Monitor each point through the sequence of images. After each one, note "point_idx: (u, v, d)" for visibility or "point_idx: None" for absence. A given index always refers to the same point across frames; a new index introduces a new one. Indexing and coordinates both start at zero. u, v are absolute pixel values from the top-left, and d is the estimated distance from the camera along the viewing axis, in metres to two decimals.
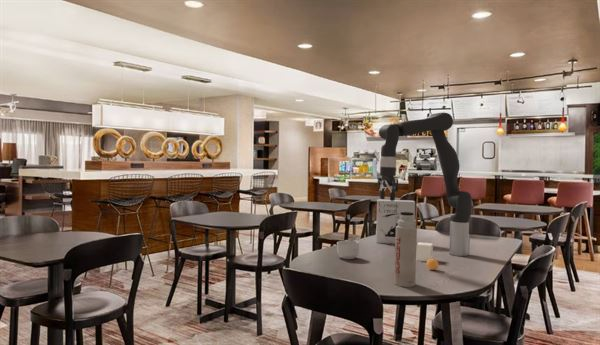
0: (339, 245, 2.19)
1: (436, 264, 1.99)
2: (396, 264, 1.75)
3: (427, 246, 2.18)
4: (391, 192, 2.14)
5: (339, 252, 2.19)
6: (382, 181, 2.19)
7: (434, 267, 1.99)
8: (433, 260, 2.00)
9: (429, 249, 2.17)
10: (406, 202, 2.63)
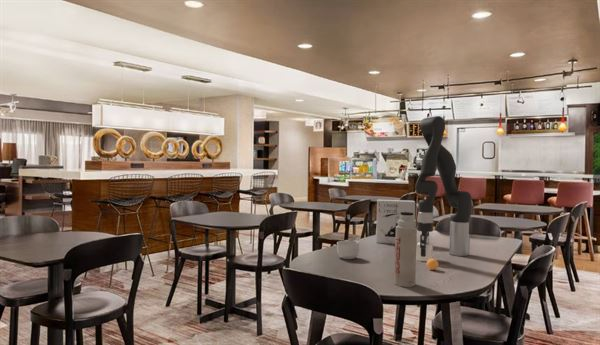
0: (339, 245, 2.19)
1: (436, 264, 1.99)
2: (396, 264, 1.75)
3: (427, 246, 2.18)
4: None
5: (339, 252, 2.19)
6: (428, 237, 2.19)
7: (434, 267, 1.99)
8: (433, 260, 2.00)
9: (429, 249, 2.18)
10: (406, 202, 2.63)
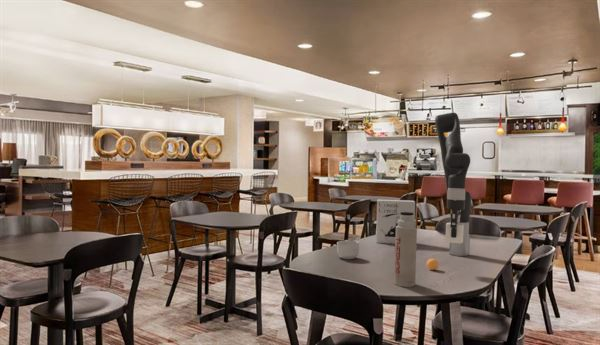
0: (339, 245, 2.19)
1: (436, 264, 1.99)
2: (396, 264, 1.75)
3: (458, 226, 1.95)
4: None
5: (339, 252, 2.19)
6: (459, 216, 1.97)
7: (434, 267, 1.99)
8: (433, 260, 2.00)
9: (460, 229, 1.95)
10: (406, 202, 2.63)
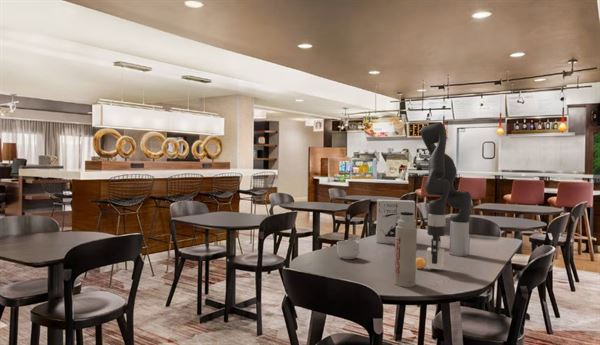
0: (339, 245, 2.19)
1: (416, 260, 2.02)
2: (396, 264, 1.75)
3: (438, 252, 1.97)
4: None
5: (339, 252, 2.19)
6: (440, 242, 1.98)
7: (420, 261, 2.01)
8: None
9: (441, 255, 1.96)
10: (406, 202, 2.63)
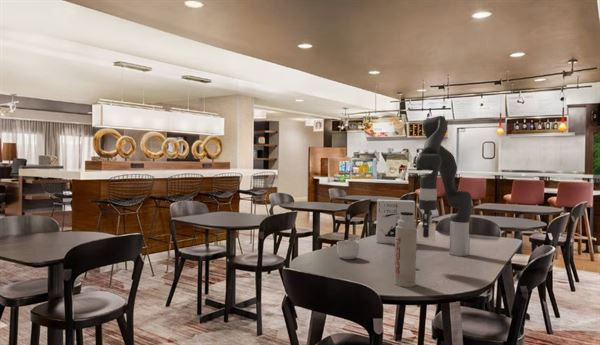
0: (339, 245, 2.19)
1: None
2: (396, 264, 1.75)
3: (430, 226, 1.98)
4: None
5: (339, 252, 2.19)
6: (431, 216, 1.99)
7: None
8: None
9: (432, 229, 1.97)
10: (406, 202, 2.63)
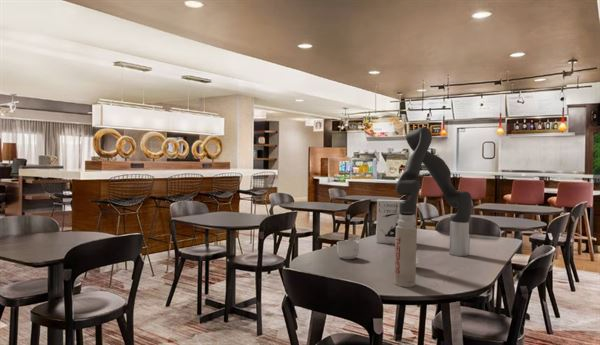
0: (339, 245, 2.19)
1: None
2: (396, 264, 1.75)
3: None
4: None
5: (339, 252, 2.19)
6: None
7: None
8: None
9: None
10: None
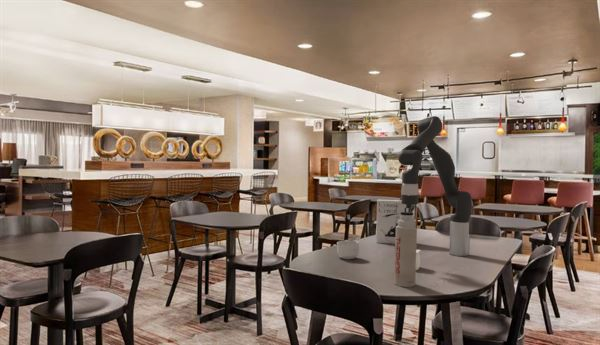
0: (339, 245, 2.19)
1: None
2: (396, 264, 1.75)
3: None
4: (413, 219, 2.11)
5: (339, 252, 2.19)
6: (413, 210, 2.05)
7: None
8: None
9: (416, 256, 2.00)
10: None
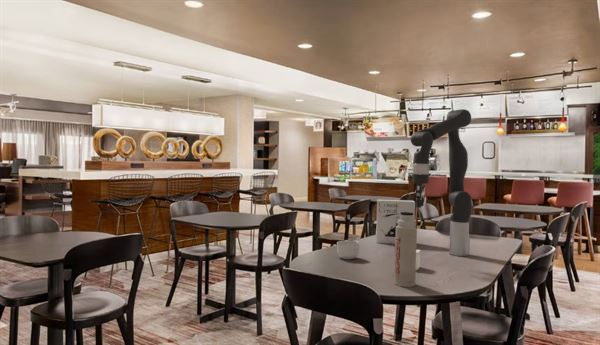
0: (339, 245, 2.19)
1: None
2: (396, 264, 1.75)
3: None
4: None
5: (339, 252, 2.19)
6: (424, 188, 2.17)
7: None
8: None
9: (416, 256, 2.00)
10: (406, 202, 2.63)
